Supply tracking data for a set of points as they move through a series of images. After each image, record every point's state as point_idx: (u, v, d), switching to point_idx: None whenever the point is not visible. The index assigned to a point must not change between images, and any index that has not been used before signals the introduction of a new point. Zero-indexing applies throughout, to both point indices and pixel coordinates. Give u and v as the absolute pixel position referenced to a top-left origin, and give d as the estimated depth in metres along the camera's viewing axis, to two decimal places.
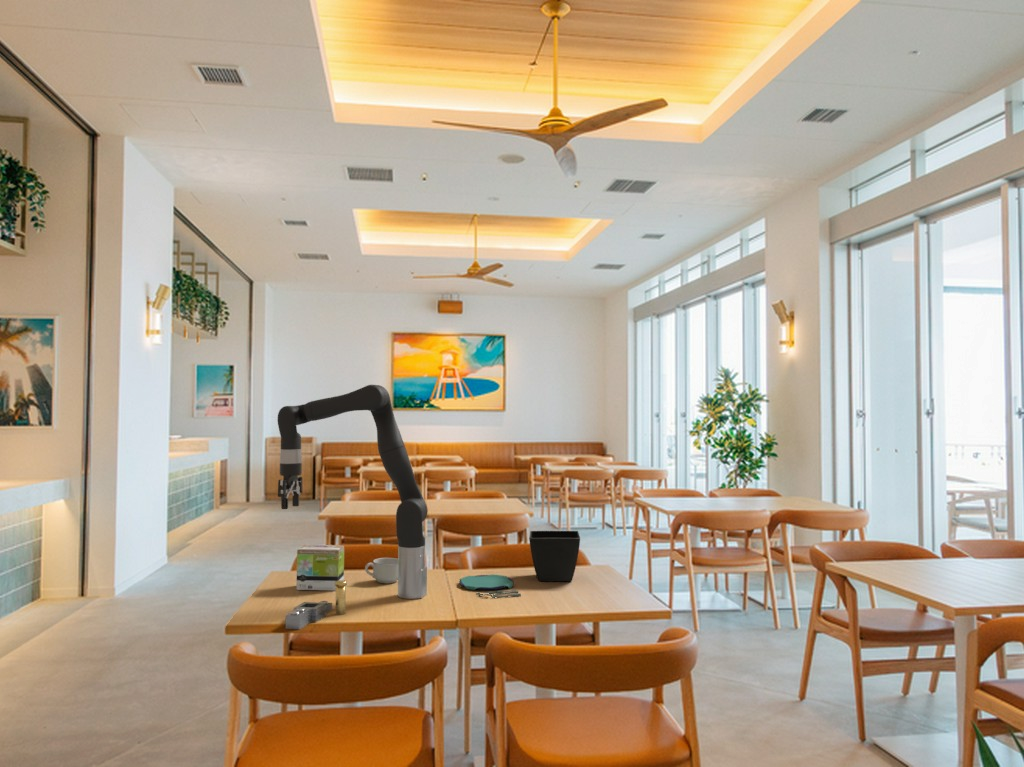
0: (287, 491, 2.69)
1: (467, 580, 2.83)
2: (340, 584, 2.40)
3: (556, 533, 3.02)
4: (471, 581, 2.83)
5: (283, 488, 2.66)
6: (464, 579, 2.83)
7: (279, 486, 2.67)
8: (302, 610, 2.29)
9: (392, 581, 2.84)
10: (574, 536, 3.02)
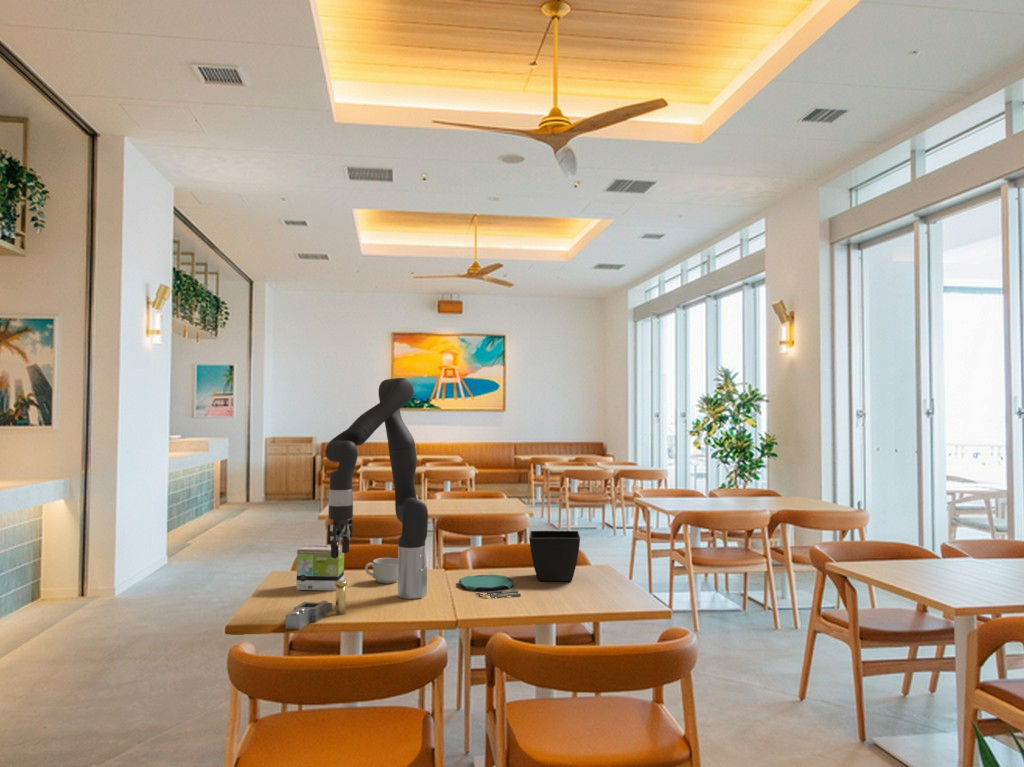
0: (337, 537, 2.38)
1: (466, 580, 2.83)
2: (340, 584, 2.40)
3: (556, 533, 3.02)
4: (470, 581, 2.83)
5: (333, 534, 2.35)
6: (463, 579, 2.83)
7: (329, 532, 2.36)
8: (302, 610, 2.29)
9: (392, 581, 2.84)
10: (574, 536, 3.02)
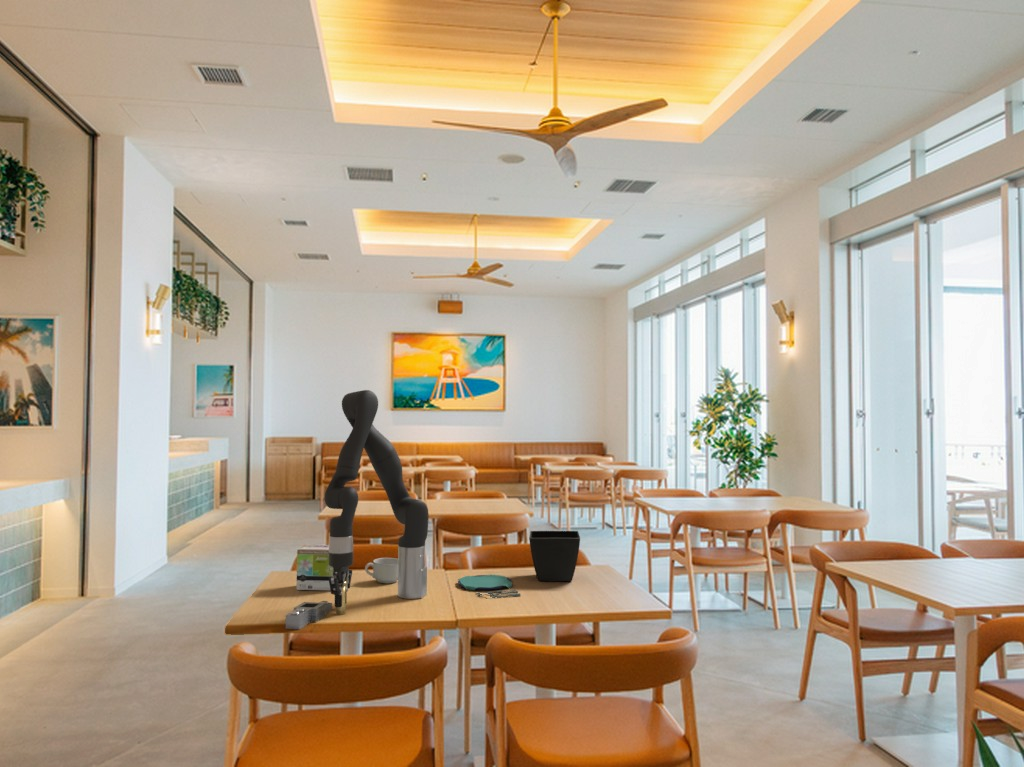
0: (340, 587, 2.39)
1: (466, 580, 2.83)
2: (340, 584, 2.40)
3: (556, 533, 3.02)
4: (470, 581, 2.83)
5: (336, 587, 2.36)
6: (463, 579, 2.83)
7: (331, 585, 2.36)
8: (302, 610, 2.29)
9: (392, 581, 2.84)
10: (574, 536, 3.02)
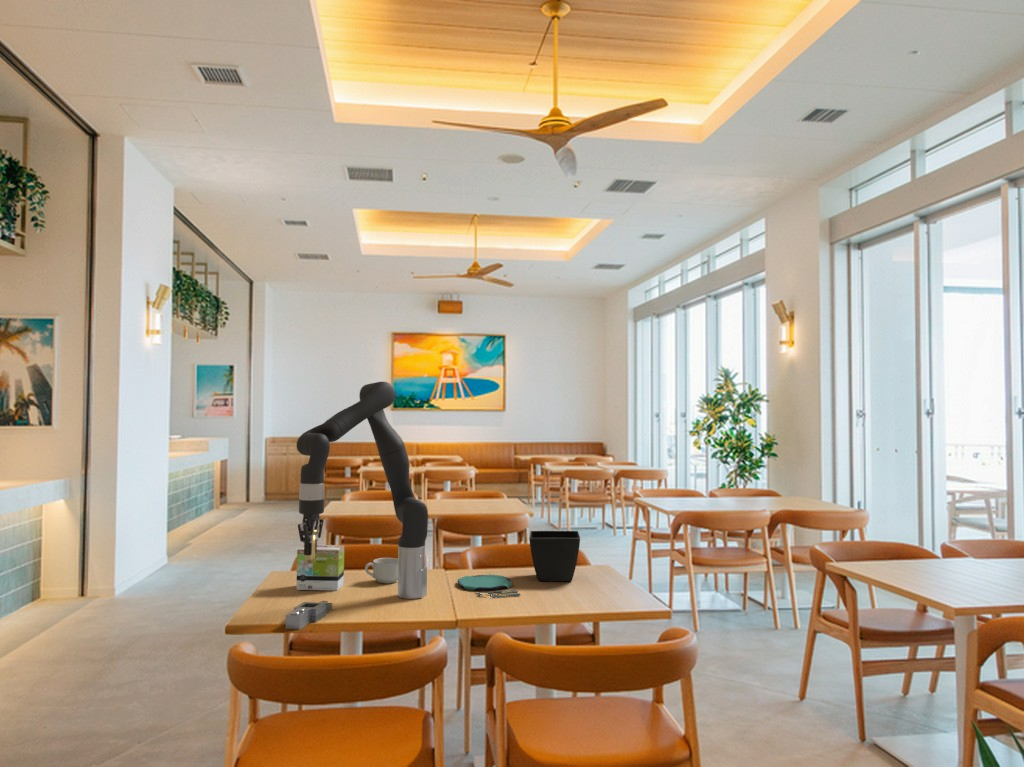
0: (310, 535, 2.34)
1: (465, 580, 2.83)
2: None
3: (556, 533, 3.02)
4: (469, 581, 2.83)
5: (305, 534, 2.31)
6: (462, 579, 2.83)
7: (300, 531, 2.31)
8: (302, 610, 2.29)
9: (392, 581, 2.84)
10: (574, 536, 3.02)
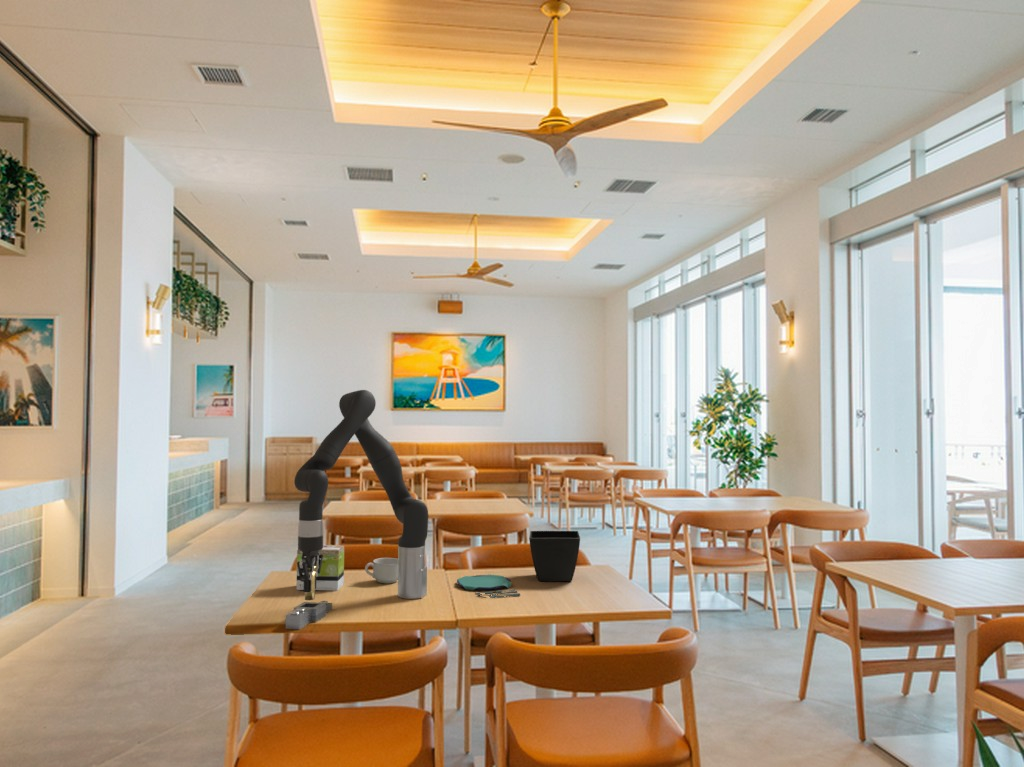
0: (309, 572, 2.34)
1: (464, 580, 2.83)
2: None
3: (556, 533, 3.02)
4: (468, 581, 2.83)
5: (304, 571, 2.31)
6: (461, 579, 2.83)
7: (299, 569, 2.31)
8: (302, 610, 2.29)
9: (392, 581, 2.84)
10: (574, 536, 3.02)
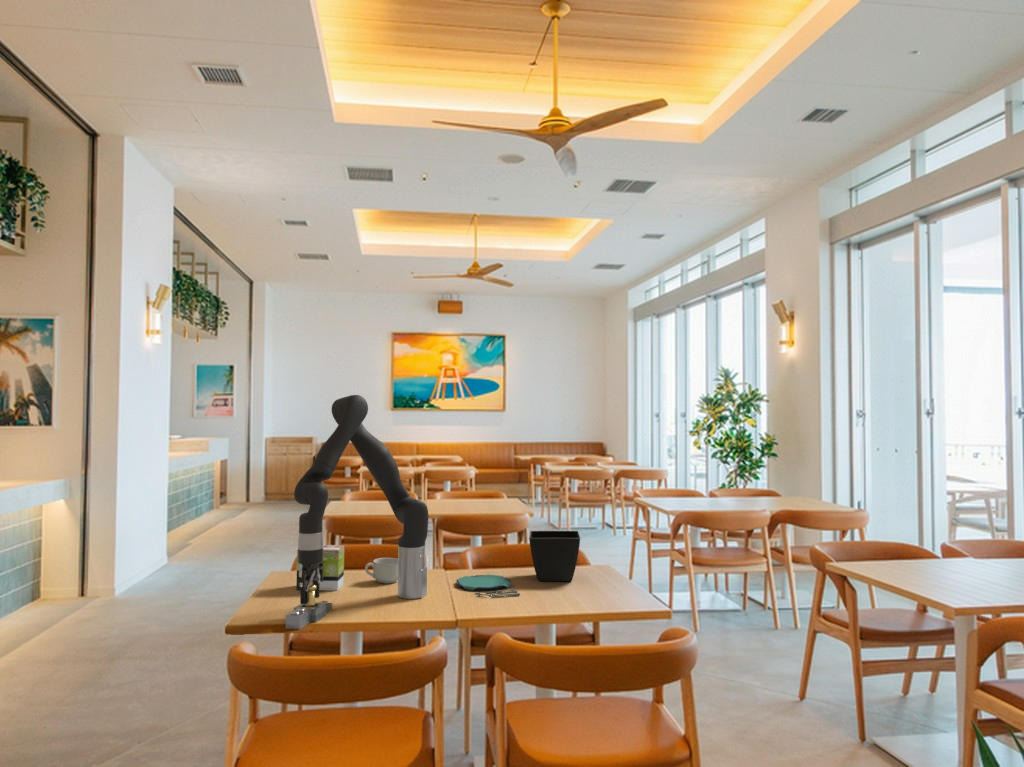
0: (307, 583, 2.32)
1: (464, 580, 2.83)
2: (309, 588, 2.34)
3: (556, 533, 3.02)
4: (468, 581, 2.83)
5: (302, 581, 2.29)
6: (461, 579, 2.83)
7: (298, 578, 2.30)
8: (302, 610, 2.29)
9: (392, 581, 2.84)
10: (574, 536, 3.02)
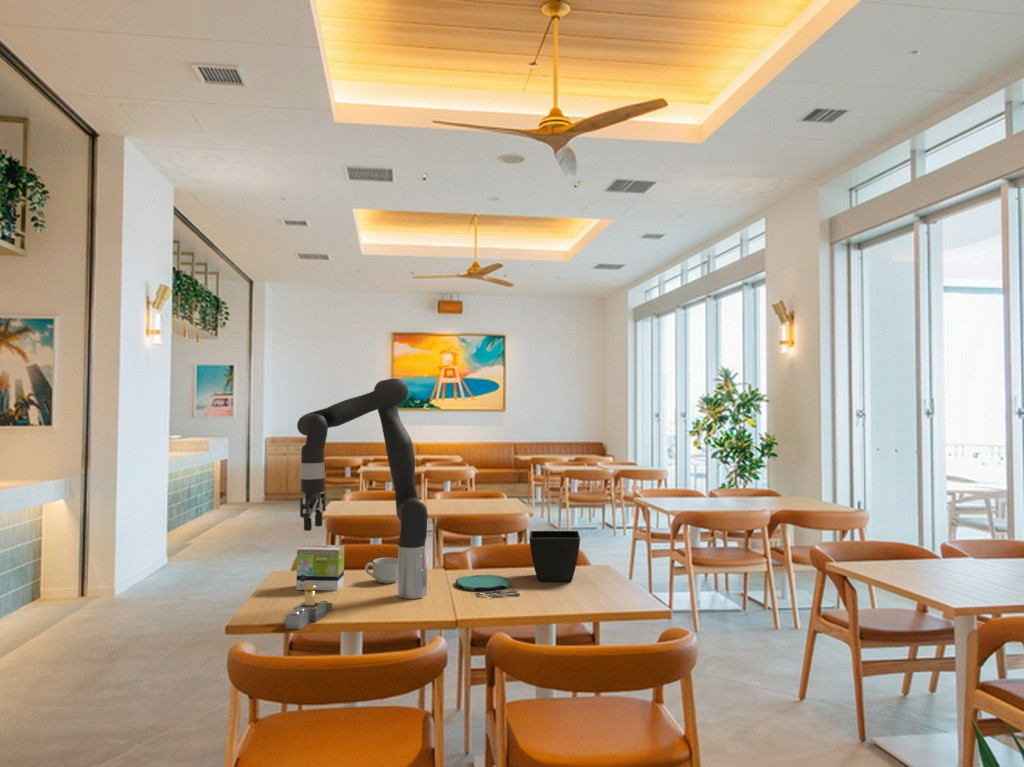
0: (310, 510, 2.39)
1: (463, 580, 2.83)
2: (309, 588, 2.34)
3: (556, 533, 3.02)
4: (467, 581, 2.83)
5: (306, 507, 2.36)
6: (460, 579, 2.83)
7: (301, 505, 2.36)
8: (302, 610, 2.29)
9: (392, 581, 2.84)
10: (574, 536, 3.02)
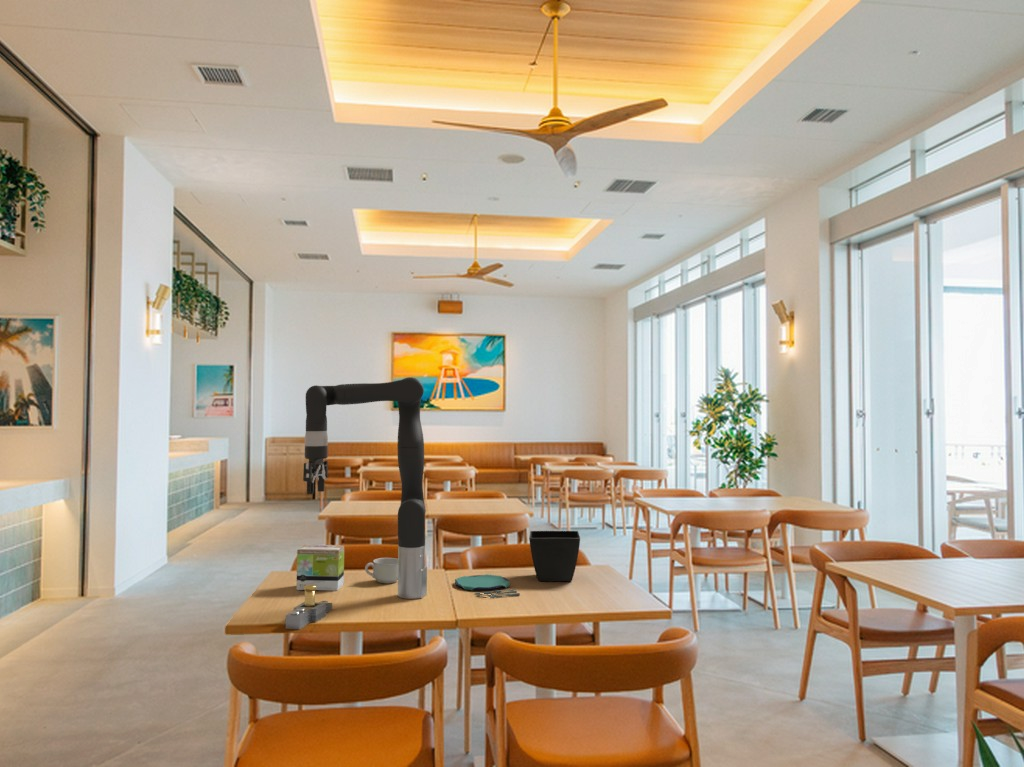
0: (313, 475, 2.55)
1: (462, 580, 2.83)
2: (309, 588, 2.34)
3: (556, 533, 3.02)
4: (466, 581, 2.82)
5: (309, 472, 2.52)
6: (459, 579, 2.83)
7: (305, 470, 2.53)
8: (302, 610, 2.29)
9: (392, 581, 2.84)
10: (574, 536, 3.02)
